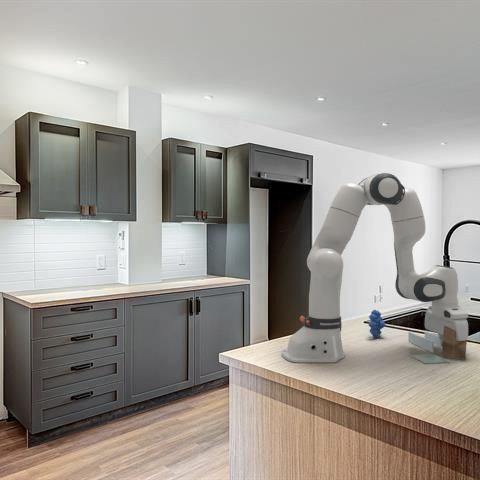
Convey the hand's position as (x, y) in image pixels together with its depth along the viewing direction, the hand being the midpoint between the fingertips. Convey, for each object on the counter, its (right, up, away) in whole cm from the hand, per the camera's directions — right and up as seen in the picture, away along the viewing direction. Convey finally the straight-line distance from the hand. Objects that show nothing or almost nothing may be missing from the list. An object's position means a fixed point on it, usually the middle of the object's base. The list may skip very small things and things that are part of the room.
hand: (444, 347), depth 159 cm
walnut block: (+1, -2, -5) cm, 5 cm away
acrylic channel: (-2, -2, +9) cm, 10 cm away
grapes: (-17, -2, +23) cm, 29 cm away
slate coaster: (-9, -2, -8) cm, 12 cm away
